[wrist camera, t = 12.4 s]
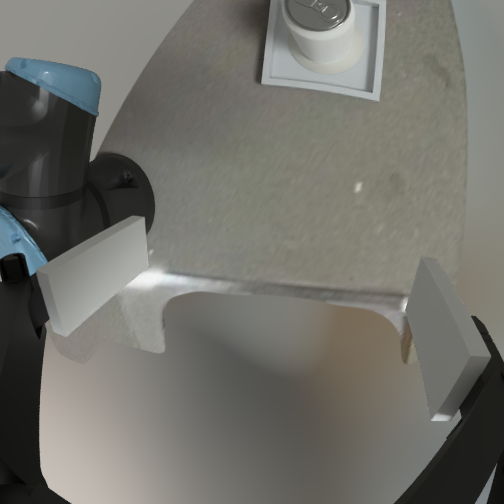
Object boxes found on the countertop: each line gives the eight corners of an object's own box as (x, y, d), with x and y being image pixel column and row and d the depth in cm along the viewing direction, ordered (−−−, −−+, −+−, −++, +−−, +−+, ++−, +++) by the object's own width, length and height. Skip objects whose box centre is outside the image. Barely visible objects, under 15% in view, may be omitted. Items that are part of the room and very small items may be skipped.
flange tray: (265, 86, 34) (261, 83, 32) (275, -7, 29) (272, -14, 27) (376, 102, 32) (378, 101, 30) (383, 6, 26) (386, 0, 24)
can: (332, 74, 31) (328, 50, 20) (287, 45, 31) (263, 12, 20) (362, 37, 28) (370, -1, 17) (317, 8, 28) (305, -36, 17)
